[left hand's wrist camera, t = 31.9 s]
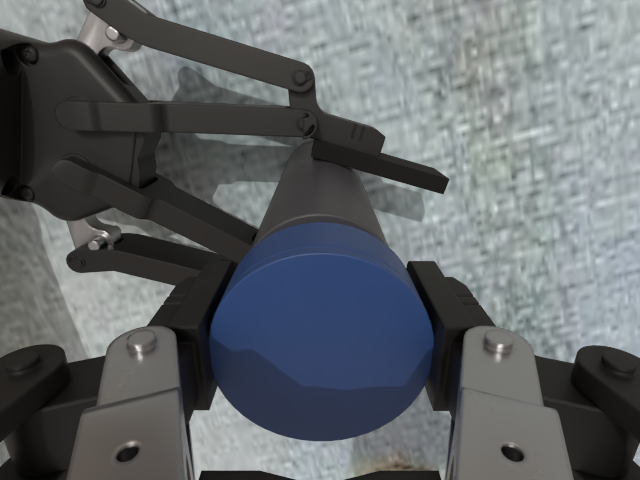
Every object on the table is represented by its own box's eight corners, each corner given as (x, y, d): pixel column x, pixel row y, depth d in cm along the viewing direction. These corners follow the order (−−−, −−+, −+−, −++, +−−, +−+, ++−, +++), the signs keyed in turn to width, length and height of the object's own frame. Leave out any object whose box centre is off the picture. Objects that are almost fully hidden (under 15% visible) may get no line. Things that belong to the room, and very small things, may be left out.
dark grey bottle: (321, 221, 28) (322, 420, 11) (270, 176, 26) (190, 324, 10) (369, 174, 26) (449, 319, 10) (319, 123, 25) (315, 195, 9)
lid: (289, 182, 10) (281, 205, 8) (454, 285, 11) (483, 328, 9) (194, 333, 11) (169, 384, 9) (345, 411, 12) (350, 470, 10)
